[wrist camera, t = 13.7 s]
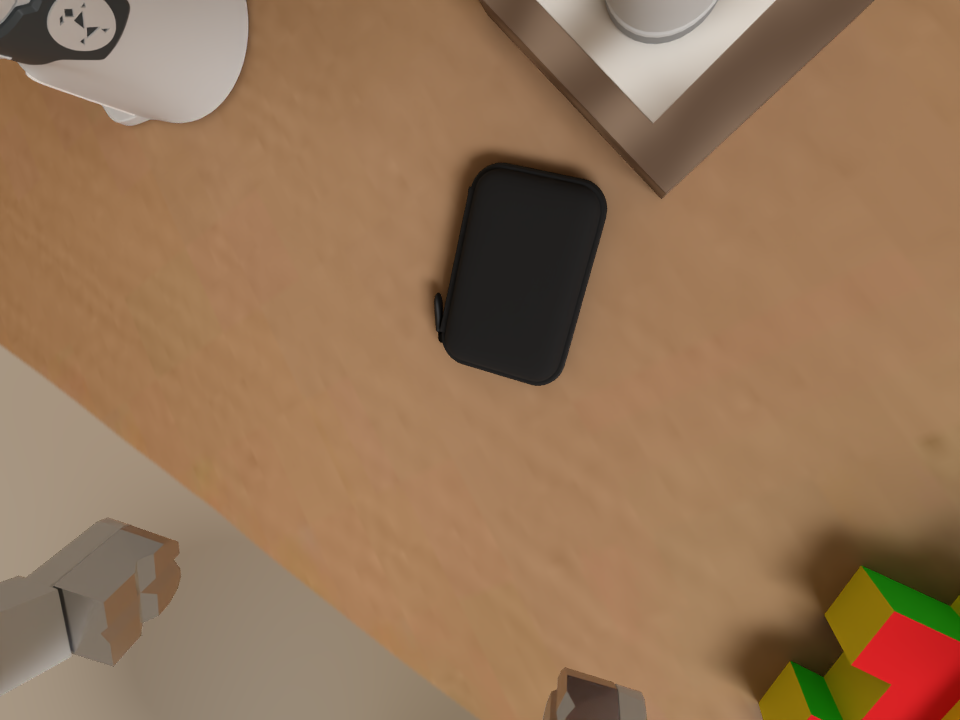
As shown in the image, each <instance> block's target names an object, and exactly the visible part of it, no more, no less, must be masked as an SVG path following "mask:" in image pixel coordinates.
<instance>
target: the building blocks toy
mask: <svg viewBox="0 0 960 720" xmlns="http://www.w3.org/2000/svg"><path fill="white" fill-rule="evenodd" d="M824 616H825V617H826V619H827V621H828V623H829V625H830V627H831V629H832V631H833V632H834V634H835V636H836V638H837V640H838V642H839V644H840V645H841V647H842V649H843V651H844V652H843V653H842V654H841V656H840V657H839V658H838V660H837V661H836V662H835V663H834V665H833V666H832V667H831V668H830V670H829V671H828V672H827V674H826V675H825V676H824V677H822V676H820V675H818V674H816V673H814V672H812V671H810V670H808V669H806V668H804V667H802V666H800V665H798V664H796V663H794V662H792V661H789V663H788V664H787V665H786V667H785V668H784V669H783V671H782V672H781V673H780V675H779V676H778V677H777V679H776V680H775V681H774V683H773V684H772V685H771V687H770V688H769V689H768V691H767V692H766V693H765V695H764V696H763V697H762V699H761V700H760V701H759V707H760V710H761V714H762V717H763V720H960V595H959V596H958V597H957V599H956V600H955V601H954V602H953V603H952V605H951V606H949V605H947V604H944V603H942V602H940V601H938V600H936V599H933V598H931V597H929V596H927V595H925V594H923V593H920V592H918V591H916V590H914V589H912V588H909V587H907V586H905V585H903V584H901V583H898V582H896V581H894V580H892V579H890V578H888V577H885V576H883V575H881V574H879V573H877V572H874V571H872V570H870V569H868V568H866V567H863V566H860V567H859V569H858V570H857V571H856V573H855V574H854V575H853V577H852V578H851V579H850V581H849V582H848V584H847V585H846V586H845V588H844V589H843V590H842V592H841V593H840V594H839V596H838V597H837V598H836V600H835V601H834V602H833V604H832V605H831V606H830V608H829V609H828V610H827V612H826V613H825V614H824Z"/></svg>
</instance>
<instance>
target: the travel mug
mask: <svg viewBox="0 0 960 720" xmlns="http://www.w3.org/2000/svg"><path fill="white" fill-rule="evenodd" d="M717 2H718V0H605V3H606V8H607V11H608V13H609V15H610V18H611V20H612V21H613V23H614V24H615V25H616V27H617V28H618V29H619V30H620V31H621V32H622V33H623V34H624V35H626V36H627V37H629V38H631V39H633V40H635V41H638V42H642V43H646V44H660V43H667V42H671V41H673V40H676V39H679V38H681V37H683V36H685V35H686V34H688V33H690V32H691V31H693V30H694V29H695V28H696V27H697V26H699V25H700V24H701V23H702V22H703V21H704V20H705V19H706V18H707V16H708V15H709V14H710V13H711V12H712V10H713V8H714V7H715V5H716V3H717Z"/></svg>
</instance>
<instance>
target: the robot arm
mask: <svg viewBox="0 0 960 720" xmlns="http://www.w3.org/2000/svg"><path fill="white" fill-rule="evenodd" d="M247 41H248V11H247V3H246V0H0V58H1V59H8V60H13V61H16V62H18V64H19V65H20V66H21V67H22V68H23V69H24V70H25V71H26V74H27V76H28V77H30V78H31V79H32V80H34V81H36V82H38V83H40V84H43V85H46V86H49V87H51V88H54V89H57V90H60V91H63V92H66V93H69V94H71V95H74V96H77V97H80V98H83V99H86V100H89V101H92V102H95V103H98V104H101V105H102V106H103V108H104V109H105V111H106V112H107V114H108V116H109V117H110V118H111V119H112V120H113V121H115V122H118V123H120V124H123V125H126V126H132V125H136V124H140V123H142V122H145V121H147V120H161V121H166V122H171V123H186V122H191V121H195V120H198V119H200V118H202V117H204V116H206V115H208V114H209V113H211V112H212V111H213V110H215V109H216V108H217V107H218V106H219V105H220V104H221V103H222V102H223V101H224V100H225V98H226V97H227V96H228V95H229V93H230V92H231V90H232V88H233V87H234V85H235V83H236V81H237V79H238V76H239V74H240V71H241V69H242V66H243V62H244V58H245V54H246V48H247ZM178 554H179V544H178V542H177V541H175V540H171V539H169V538H166V537H163V536H160V535H157V534H154V533H152V532H149V531H146V530H143V529H140V528H137V527H134V526H132V525H129V524H126V523H123V522H120V521H117V520H114V519H111V518H106V519H103V520H100V521H98V522H96V523H95V524H93V525H92V526H91V527H90V528H88V529H87V530H86V531H85V532H84V533H82V534H81V535H79V536H78V537H77V538H76V539H74V540H73V541H72V542H71V543H70V544H68V545H67V546H66V547H64V548H63V549H62V550H60V551H59V552H58V553H57V554H55V555H54V556H53V557H52V558H50V559H49V560H48V561H46V562H45V563H44V564H43V565H42V566H40V567H39V568H38V569H36V570H35V571H34V572H33V573H32V574H30V575H29V576H28V577H26V578H25V577H22V576H17V577H14V578H11V579H8V580H5V581H3V582H0V696H2V695H3V694H5V693H7V692H9V691H11V690H12V689H14V688H16V687H18V686H20V685H21V684H23V683H25V682H26V681H29V680H30V679H32V678H34V677H36V676H37V675H39V674H41V673H43V672H45V671H47V670H48V669H50V668H52V667H54V666H56V665H57V664H59V663H61V662H63V661H65V660H66V659H68V658H70V657H71V655H72V654H75V655H78V656H81V657H84V658H88V659H91V660H94V661H97V662H100V663H104V664H107V665H110V666H114V665H115V664H116V663H117V662H118V661H119V660H120V659H121V658H122V656H123V655H124V654H125V653H126V652H127V650H129V649H130V647H131V646H132V645H133V644H134V643H135V642H136V641H137V640H138V639H139V637H140V636H141V634H142V626H143V623H144V622H146V621H148V620H150V619H153V618H155V617H157V616H159V615H160V614H161V612H162V611H163V610H164V609H165V608H166V607H167V605H168V604H169V603H170V601H171V600H172V598H173V596H174V594H175V592H176V591H177V589H178V586H179V582H180V578H181V573H180V568H179V566H178V565H177V563H176V562H175V561H174V559H175V557H176V556H178ZM71 653H72V654H71ZM543 720H647V715H646V707H645V699H644V697H643V695H642V693H641V692H640V691H637V690H634V689H630V688H627V687H624V686H621V685H617V684H614V682H611V681H608V680H605V679H601V678H598V677H595V676H592V675H588V674H585V673H582V672H579V671H575V670H572V669H569V668H566V667H565V668H563V669H562V670H561V672H560V674H559V676H558V685H557V690H554V691H552V692H551V694H550V696H549V699H548V701H547V704H546V708H545V712H544V716H543Z"/></svg>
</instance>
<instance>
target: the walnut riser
mask: <svg viewBox="0 0 960 720" xmlns="http://www.w3.org/2000/svg"><path fill="white" fill-rule="evenodd" d="M479 1H480V3H481V4H482V6H483V8H484V9H485V11H486V13H487V14H488V16H489V17H490V18H491V19H492V20H493V21H494V22H495V23H496V24H497V25H498V26H499V27H500V28H501V29H502V30H503V31H504V33H505V34H506V35H507V36H508V37H509V38H510V39H511V40H512V41H513V42H514V43H515V44H516V45H517V46H518V47H519V48H520V49H521V51H522V52H523V53H524V54H525V55H526V56H527V57H528V58H529V59H530V60H531V61H532V62H533V63H534V64H535V65H536V66H537V67H538V69H539V70H540V71H541V72H542V73H543V74H544V75H545V76H546V77H547V78H548V79H549V80H550V81H551V82H552V83H553V84H554V85H555V87H556V88H557V89H558V90H559V91H560V92H561V93H562V94H563V95H564V96H565V97H566V98H567V99H568V100H569V101H570V102H571V103H572V105H573V106H574V107H575V108H576V109H577V110H578V111H579V112H580V113H581V114H582V115H583V116H584V117H585V118H586V119H587V120H588V121H589V123H590V124H591V125H592V126H593V127H594V128H595V129H596V130H597V131H598V132H599V133H600V134H601V135H602V136H603V137H604V138H605V139H606V141H607V142H608V143H609V144H610V145H611V146H612V147H613V148H614V149H615V150H616V151H617V152H618V153H619V154H620V155H621V156H622V157H623V159H624V160H625V161H626V162H627V163H628V164H629V165H630V166H631V167H632V168H633V169H634V170H635V171H636V172H637V173H638V174H639V175H640V177H641V178H642V179H643V180H644V181H645V182H646V183H647V184H648V185H649V186H650V187H651V188H652V189H653V190H654V191H655V192H656V193H657V195H658V196H659V197H660V198H661V199H662V198H663V197H664V196H665V195H667V194H668V193H669V192H670V191H671V190H672V189H673V188H674V187H675V186H676V185H677V184H678V183H679V182H680V181H682V180H683V179H684V178H685V177H686V176H687V175H688V174H689V173H690V172H691V171H692V170H693V169H694V168H695V167H697V166H698V165H699V164H700V163H701V162H702V161H703V160H704V159H705V158H706V157H707V156H708V155H709V154H710V153H712V152H713V151H714V150H715V149H716V148H717V147H718V146H719V145H720V144H721V143H722V142H723V141H724V140H726V139H727V138H728V137H729V136H730V135H731V134H732V133H733V132H734V131H735V130H736V129H737V128H738V127H739V126H741V125H742V124H743V123H744V122H745V121H746V120H747V119H748V118H749V117H750V116H751V115H752V114H753V113H754V112H756V111H757V110H758V109H759V108H760V107H761V106H762V105H763V104H764V103H765V102H766V101H767V100H768V99H770V98H771V97H772V96H773V95H774V94H775V93H776V92H777V91H778V90H779V89H780V88H781V87H782V86H783V85H785V84H786V83H787V82H788V81H789V80H790V79H791V78H792V77H793V76H794V75H795V74H796V73H797V72H798V71H800V70H801V69H802V68H803V67H804V66H805V65H806V64H807V63H808V62H809V61H810V60H811V59H812V58H814V57H815V56H816V55H817V54H818V53H819V52H820V51H821V50H822V49H823V48H824V47H825V46H826V45H827V44H829V43H830V42H831V41H832V40H833V39H834V38H835V37H836V36H837V35H838V34H839V33H840V32H841V31H842V30H844V29H845V28H846V27H847V26H848V25H849V24H850V23H851V22H852V21H853V20H854V19H855V18H856V17H857V16H859V15H860V14H861V13H862V12H863V11H864V10H865V9H866V8H867V7H868V6H869V5H870V4H871V3H872V2H873V1H874V0H718V2H717V3H716V5H715V7H714V8H713V10H712V12H711V13H710V14H709V15H708V16H707V18H706V19H705V20H704V21H703V22H702V23H701V24H700V25H699V26H697V27H696V28H695V29H694V30H693V31H691V32H690V33H688V34H686V35H685V36H683V37H681V38H679V39H676V40H673V41H671V42H667V43H660V44H646V43H642V42H638V41H635V40H633V39H631V38H629V37H627V36H626V35H624V34H623V33H622V32H621V31H620V30H619V29H618V28H617V27H616V25H615V24H614V23H613V21H612V20H611V18H610V15H609V13H608V11H607V8H606V3H605V0H479Z"/></svg>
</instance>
